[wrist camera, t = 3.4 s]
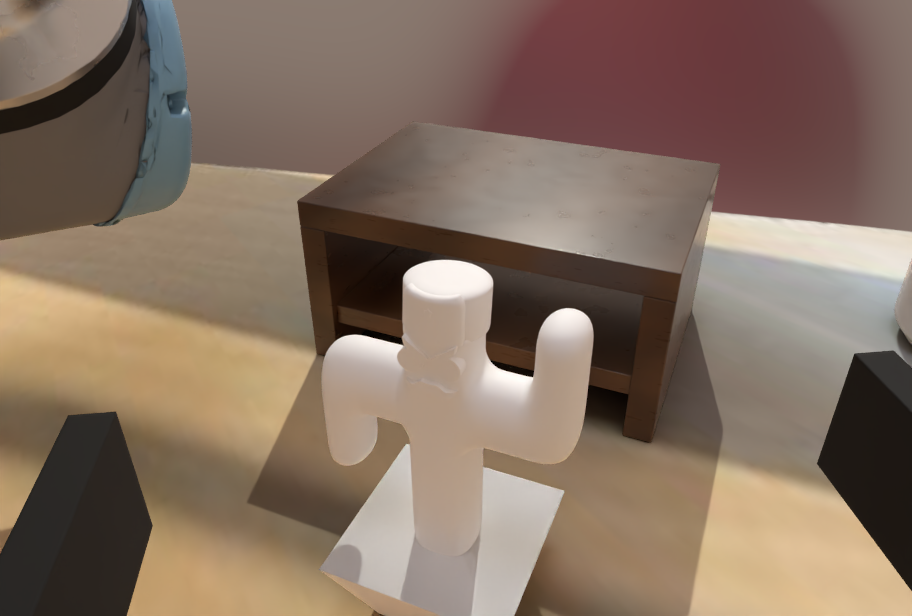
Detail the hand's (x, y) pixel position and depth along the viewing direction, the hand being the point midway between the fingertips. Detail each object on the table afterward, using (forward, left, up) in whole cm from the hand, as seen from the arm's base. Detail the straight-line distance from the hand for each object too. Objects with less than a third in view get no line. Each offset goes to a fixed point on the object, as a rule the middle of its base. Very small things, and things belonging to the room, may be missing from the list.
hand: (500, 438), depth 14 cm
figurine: (-5, +8, -17) cm, 20 cm away
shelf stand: (-9, +27, -17) cm, 34 cm away
